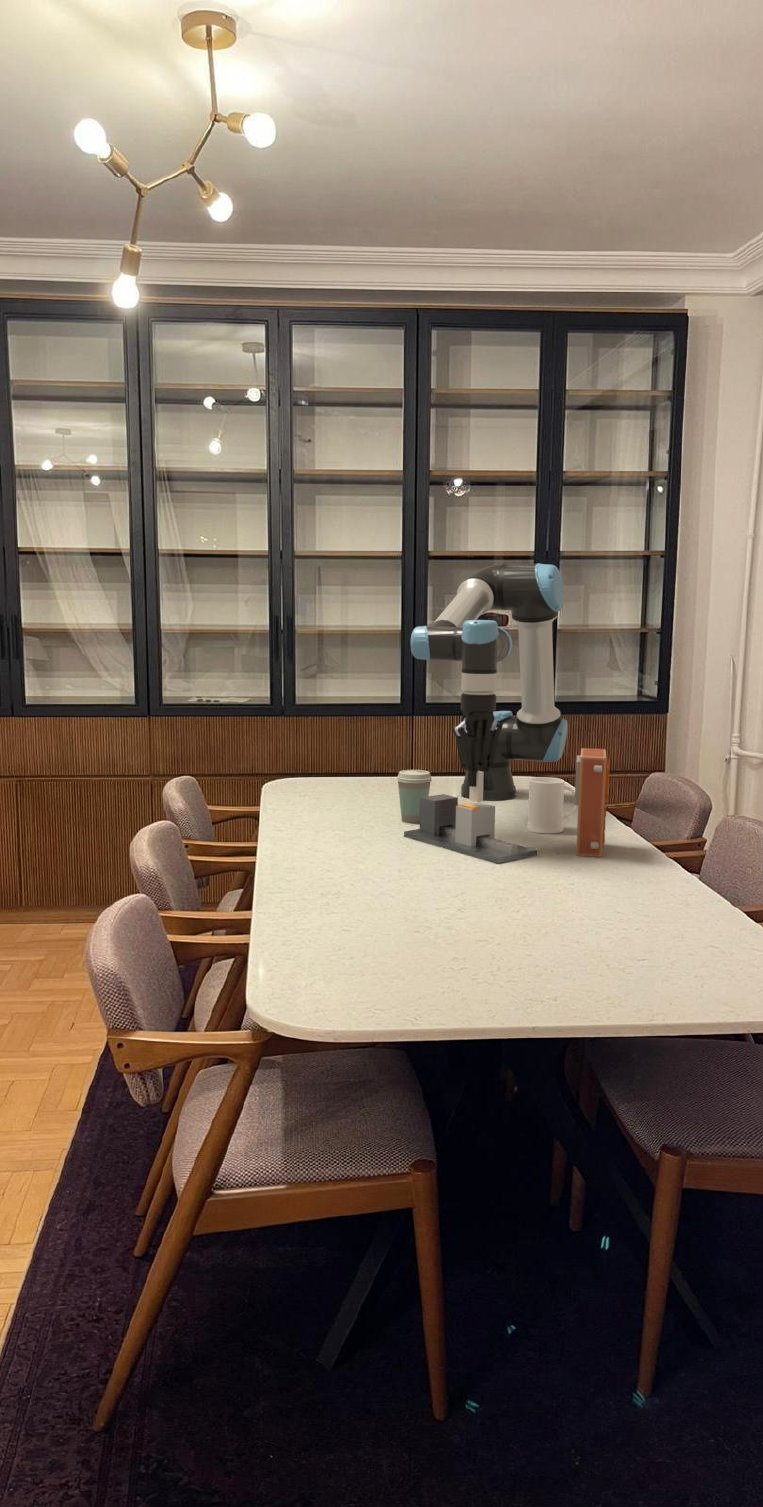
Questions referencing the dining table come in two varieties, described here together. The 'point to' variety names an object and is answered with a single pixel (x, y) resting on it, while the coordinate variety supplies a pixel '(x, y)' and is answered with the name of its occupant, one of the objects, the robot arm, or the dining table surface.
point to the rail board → (471, 849)
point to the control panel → (591, 801)
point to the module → (474, 822)
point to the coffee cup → (412, 793)
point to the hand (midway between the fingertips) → (476, 800)
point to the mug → (547, 805)
